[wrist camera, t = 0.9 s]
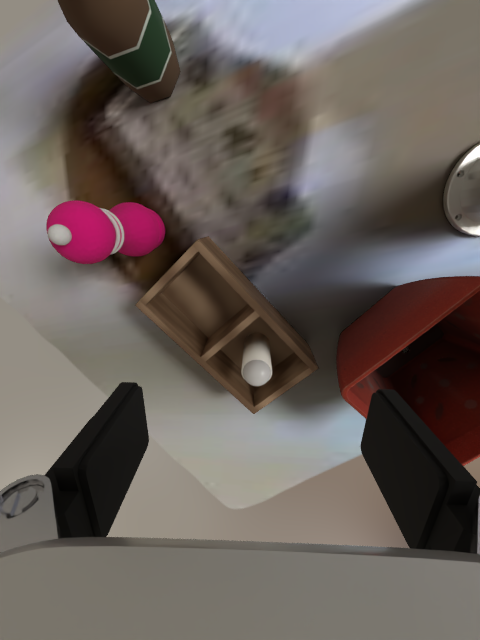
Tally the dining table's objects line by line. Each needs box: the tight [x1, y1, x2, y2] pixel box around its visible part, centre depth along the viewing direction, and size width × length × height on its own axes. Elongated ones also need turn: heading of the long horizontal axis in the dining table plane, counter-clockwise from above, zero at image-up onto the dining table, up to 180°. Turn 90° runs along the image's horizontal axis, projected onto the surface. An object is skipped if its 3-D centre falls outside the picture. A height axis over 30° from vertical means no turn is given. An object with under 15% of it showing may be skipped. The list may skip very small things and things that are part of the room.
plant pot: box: [336, 276, 480, 466], centre depth 37 cm, size 19×19×17 cm
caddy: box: [135, 237, 318, 414], centre depth 41 cm, size 13×25×8 cm, turn 43°
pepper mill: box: [47, 201, 165, 264], centre depth 32 cm, size 7×7×20 cm
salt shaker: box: [241, 333, 272, 386], centre depth 40 cm, size 4×4×11 cm
